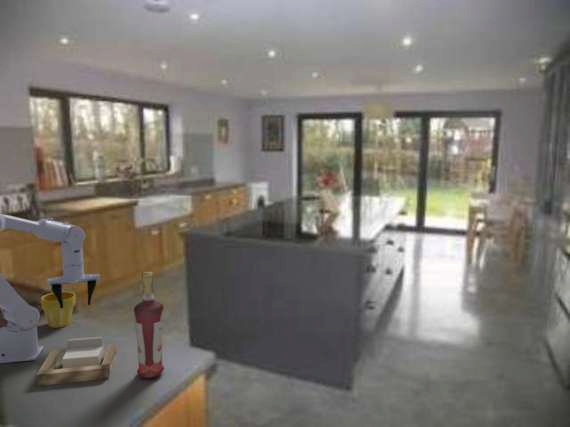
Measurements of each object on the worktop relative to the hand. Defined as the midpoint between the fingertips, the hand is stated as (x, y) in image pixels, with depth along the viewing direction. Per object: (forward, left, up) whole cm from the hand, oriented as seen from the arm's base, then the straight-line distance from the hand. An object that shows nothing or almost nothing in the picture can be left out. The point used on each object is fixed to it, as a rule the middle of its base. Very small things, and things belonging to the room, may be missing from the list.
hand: (75, 305), depth 135 cm
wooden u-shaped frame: (+5, -21, -10) cm, 24 cm away
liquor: (+24, -28, -11) cm, 38 cm away
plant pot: (-8, +12, -11) cm, 18 cm away
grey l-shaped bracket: (+6, -19, -10) cm, 22 cm away
